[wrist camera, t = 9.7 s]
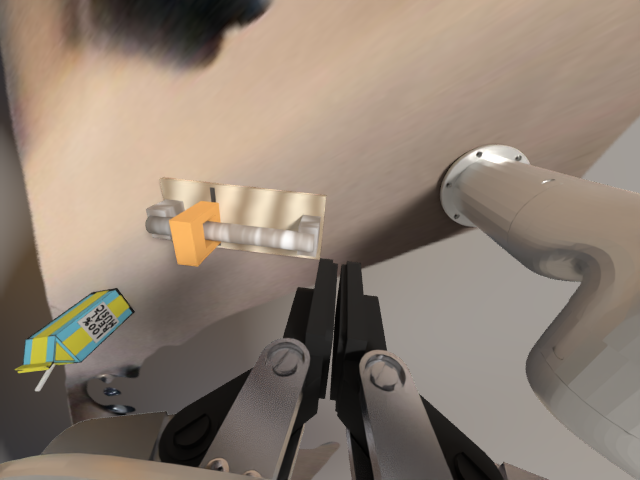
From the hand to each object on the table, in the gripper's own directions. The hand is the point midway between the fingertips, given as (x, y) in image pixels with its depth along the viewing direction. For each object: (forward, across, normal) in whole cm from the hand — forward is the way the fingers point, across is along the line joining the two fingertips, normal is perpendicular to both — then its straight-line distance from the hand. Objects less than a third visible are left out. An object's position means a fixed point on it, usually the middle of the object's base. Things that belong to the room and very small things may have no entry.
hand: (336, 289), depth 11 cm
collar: (+29, +21, +11) cm, 38 cm away
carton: (+31, +49, +36) cm, 68 cm away
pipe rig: (+32, +16, +11) cm, 37 cm away
